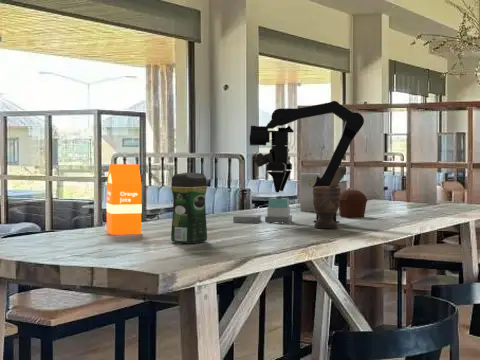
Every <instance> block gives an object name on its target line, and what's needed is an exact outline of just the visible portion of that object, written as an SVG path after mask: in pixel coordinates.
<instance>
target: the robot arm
mask: <svg viewBox="0 0 480 360" xmlns="http://www.w3.org/2000/svg"><path fill="white" fill-rule="evenodd" d="M327 114H334V115H335V116H336V117H338V118H339V119H340V120H342V121H343V122H344V125H343V130H342V134H341V137H340V139H339V140H338V142H337V145H336V147H335V150H334V151H333V154H332V155H331V158H330V159H329V162H328V164H327V166H326V168H325V170H324V172H323V174H322V175H320V177H319V176H317V177H316V181H315V183H314V184H313V185H312V187H316V186H328V187H329V186H330V184H331V182H332V180H333V178H334V176H335V173H336V171H337V169H338V168H339V167H340V166H341V164H342V162H343V159H344V157H345V155H346V154H347V151H348V149H349V146H350V145H351V143H352V141H353V139H354V138H355V137H356V136H357V134H358V133H359V131H360V130H361V128H362V127H363V126H364V123H365V119H364V116H363V115H362V114H361V113H359V112H353V111H351V110H350V109H348V108H346V106H344V105H342V104H340V102H338V101H337V100H331V101H329V102H325V103H319V104H314V105H309V106H304V107H303V106H302V107H299V108H290V107H289V108H277V109H275V110H273V112H272V114H271V119H270V120H269V122H268V123H267V125H265V126H262V125H251V126H250V131H249V146H254V147H255V146H259V147H260V146H261V147H262V146H263V147H264V146H267V143H269V144H270V143H271V147H270V149H269V152H268V153H265V154H263V153H261V152H260V153H257V154H256V157H255V158H254V163H255V165H256V166H257V168H260V167H263V166H264V165H266V168H265V169H266V170H265V171H266V172H267V174H269V175H270V176H271V177H272V183H273V186H274V191H275V193H280V192H282V191H284V189H285V187H286V184H287V182H288V180H289V178H290V175H291V173H292V170H293V163H291V161H289V152H290V148H289V133H294V132H295V131H294V129H293V128H292V127H291V125H289V124H292V123H293V122H296V121H298V120H302V119H303V120H304V119H306V118H313V117H316V116H323V115H327ZM285 125H288V126H286V127H283V126H285ZM276 127H278V129H277V130H273V129H275V128H276ZM271 129H272V130H271ZM270 134H271V136H270ZM270 137H271V138H270ZM270 139H271V142H270ZM315 213H316V214H315V215H316V217H315V219H316V220H313V223H316V221H318V219H319V215H318V214H317V212H315ZM333 220H334V221H335V222H336V223H340V221H339V220H337V212H336V213H335V214H334V215H333Z"/></svg>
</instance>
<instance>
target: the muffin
mask: <svg viewBox="0 0 480 360" xmlns="http://www.w3.org/2000/svg"><path fill="white" fill-rule="evenodd" d="M368 200H369V199H368V198H367V196H366V195H365V194H364V192H362V191H361V190H358V189H345V190H343V191H342V192H340V204H339V207H338V212H339V213H338V214H339V217H340V216H341V218H346V217H347V219H348V218H350V219H356V218H357V219H361V218H364V217H365V214H366V207H367V203H368Z"/></svg>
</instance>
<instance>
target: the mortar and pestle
mask: <svg viewBox="0 0 480 360" xmlns="http://www.w3.org/2000/svg"><path fill="white" fill-rule="evenodd" d="M346 173H347V168H346V167H345V166H343V165H340V166H339V168H338V169H337V171H336V173H335V176H334V178H333V180H332V182H331V184H330V186H329V187H328V186H316V187H313V204H314V208H315V211H316V212H317V214H318V215H319V219H318V221H316V220H315V221H316V222H314V225H313V227H314V229H326V230H327V229H333V230H336V229H338V224H337V223H336V222H335V221H334V220H333V215H334V214H335V213H336V214H337V212H339V204H340V194H341V187H339V186H338V185H339V183H340V182H341V180H342V179H343V178H344V176H345V174H346ZM316 212H315V213H316Z"/></svg>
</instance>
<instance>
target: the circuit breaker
mask: <svg viewBox="0 0 480 360" xmlns="http://www.w3.org/2000/svg"><path fill="white" fill-rule="evenodd" d="M317 176H319V177H320V178H321V173H315V172H314V173H312V172H311V173H309V172H301V173H300V203H299V204H300V206H299V208H300V212H305V211H315V208H314V204H313V187H312V185H313V184H314V183H315V181H316V177H317Z"/></svg>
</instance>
